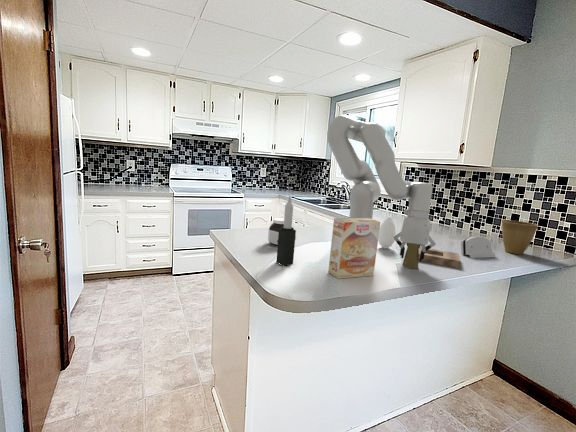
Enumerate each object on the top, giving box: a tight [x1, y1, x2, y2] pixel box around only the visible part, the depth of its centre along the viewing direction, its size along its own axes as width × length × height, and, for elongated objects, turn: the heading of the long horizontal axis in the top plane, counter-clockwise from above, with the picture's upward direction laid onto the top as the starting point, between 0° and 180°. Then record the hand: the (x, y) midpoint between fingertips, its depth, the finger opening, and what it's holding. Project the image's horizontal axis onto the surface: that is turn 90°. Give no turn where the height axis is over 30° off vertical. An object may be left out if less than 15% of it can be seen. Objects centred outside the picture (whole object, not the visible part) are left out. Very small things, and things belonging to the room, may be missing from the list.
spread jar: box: [267, 217, 297, 247], centre depth 143 cm, size 12×11×12 cm
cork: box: [402, 243, 421, 270], centre depth 124 cm, size 6×6×11 cm
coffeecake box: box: [327, 217, 382, 280], centre depth 109 cm, size 15×7×20 cm, turn 114°
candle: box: [276, 195, 297, 266], centre depth 115 cm, size 5×5×25 cm
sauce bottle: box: [378, 211, 397, 250], centre depth 150 cm, size 8×8×18 cm
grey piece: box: [460, 236, 496, 259], centre depth 152 cm, size 17×5×10 cm, turn 111°
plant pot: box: [501, 219, 539, 255], centre depth 162 cm, size 15×15×16 cm
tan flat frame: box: [418, 246, 461, 269], centre depth 138 cm, size 20×14×3 cm
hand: (411, 258), depth 125 cm, fingers open, 6 cm apart
